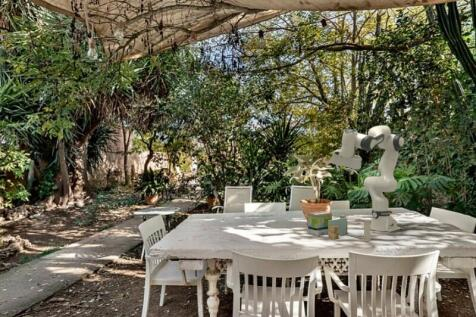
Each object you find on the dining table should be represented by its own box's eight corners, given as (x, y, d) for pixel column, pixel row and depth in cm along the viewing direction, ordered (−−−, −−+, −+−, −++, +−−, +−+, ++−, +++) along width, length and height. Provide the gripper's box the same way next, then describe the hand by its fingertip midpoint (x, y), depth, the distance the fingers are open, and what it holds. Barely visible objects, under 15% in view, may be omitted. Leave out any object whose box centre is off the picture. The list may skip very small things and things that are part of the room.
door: (345, 233, 259) (345, 217, 259) (347, 234, 257) (347, 218, 257) (326, 236, 251) (326, 220, 251) (329, 236, 249) (329, 220, 249)
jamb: (367, 239, 242) (367, 220, 242) (370, 240, 240) (370, 220, 240) (363, 240, 241) (363, 220, 240) (366, 241, 238) (366, 221, 238)
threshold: (349, 234, 256) (349, 234, 256) (364, 238, 244) (364, 238, 244) (346, 235, 255) (346, 234, 255) (361, 239, 243) (361, 238, 243)
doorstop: (333, 237, 251) (333, 225, 251) (338, 238, 246) (338, 226, 246) (328, 237, 249) (328, 226, 249) (333, 239, 244) (333, 227, 244)
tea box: (318, 236, 255) (318, 214, 254) (307, 233, 263) (307, 212, 262) (332, 232, 263) (332, 212, 263) (321, 230, 271) (321, 210, 271)
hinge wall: (342, 233, 262) (342, 215, 262) (346, 233, 259) (345, 215, 259) (339, 233, 261) (339, 215, 261) (343, 234, 258) (342, 216, 258)
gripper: (363, 155, 246) (361, 174, 250) (335, 149, 258) (333, 168, 262) (360, 157, 241) (357, 177, 245) (331, 151, 253) (329, 170, 257)
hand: (344, 172), depth 254 cm, fingers open, 8 cm apart
